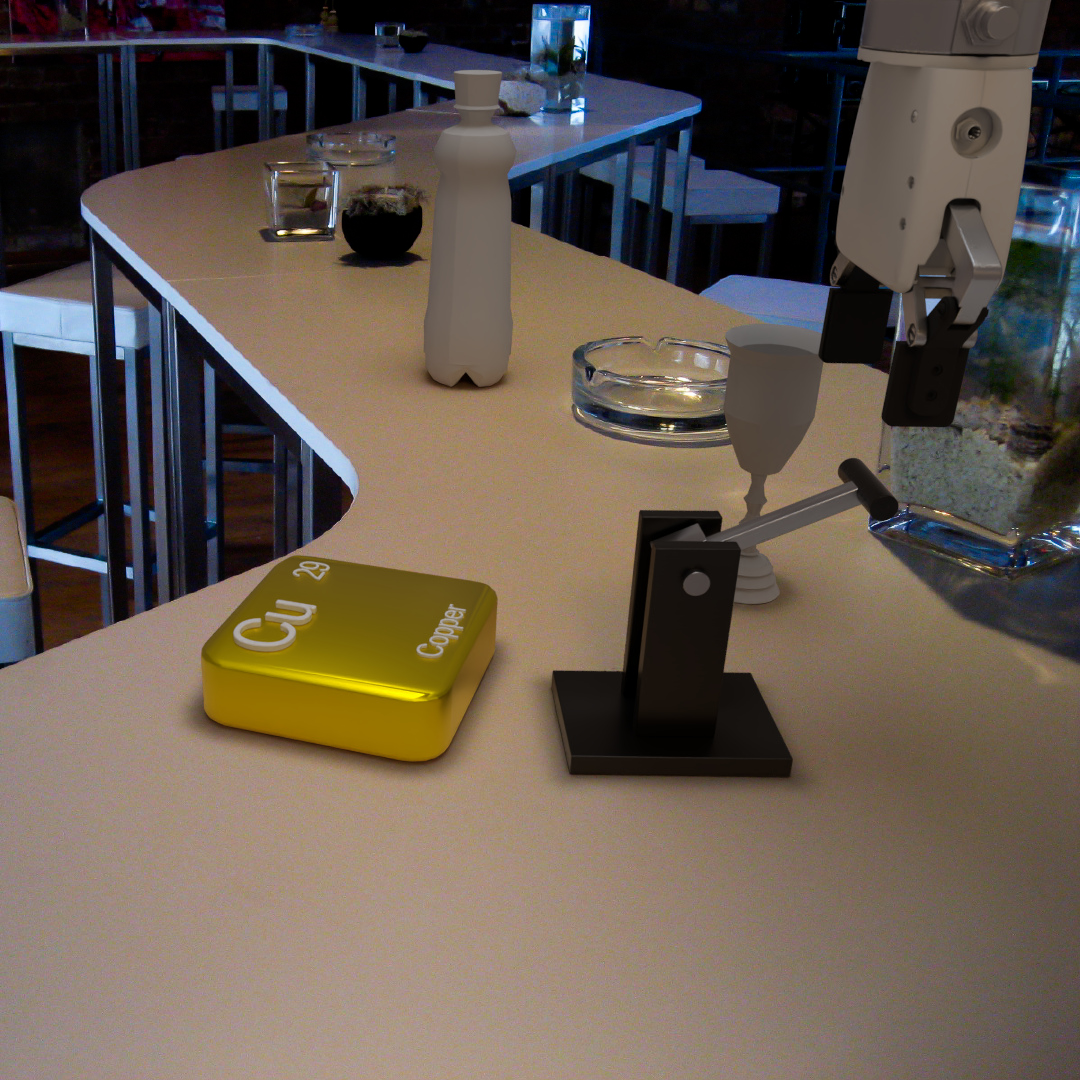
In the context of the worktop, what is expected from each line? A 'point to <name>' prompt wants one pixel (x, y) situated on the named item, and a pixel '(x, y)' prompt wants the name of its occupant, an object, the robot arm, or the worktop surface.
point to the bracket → (672, 671)
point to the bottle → (471, 241)
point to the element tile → (352, 657)
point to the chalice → (768, 422)
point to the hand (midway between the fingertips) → (879, 391)
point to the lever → (806, 510)
